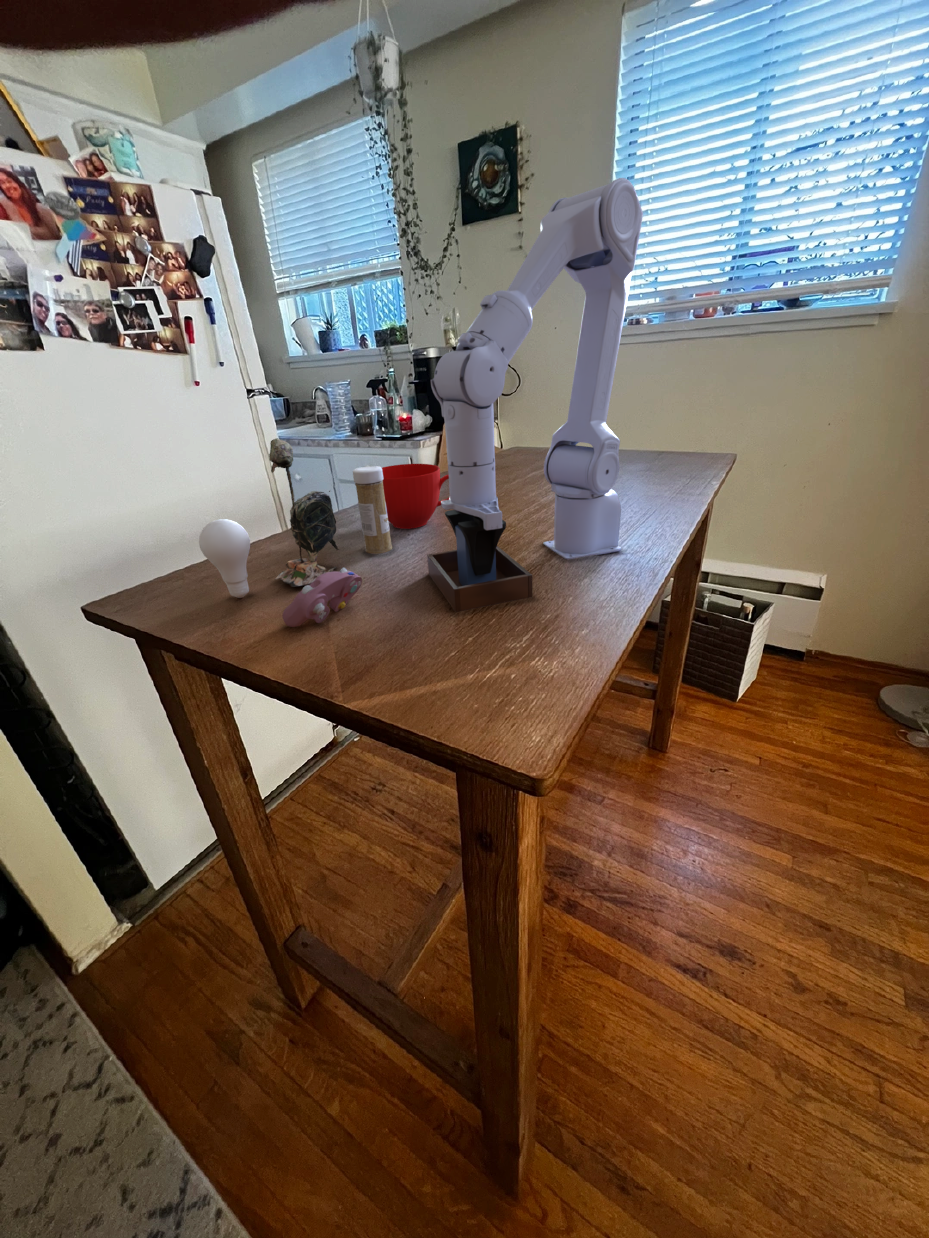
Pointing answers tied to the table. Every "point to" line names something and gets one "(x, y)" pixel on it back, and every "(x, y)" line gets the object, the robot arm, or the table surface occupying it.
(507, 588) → the box
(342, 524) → the table surface
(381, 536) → the sprinkles bottle
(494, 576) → the peg
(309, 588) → the video game controller
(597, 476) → the robot arm
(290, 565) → the ostrich figurine
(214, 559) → the lightbulb
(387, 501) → the ceramic cup
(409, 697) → the table surface
